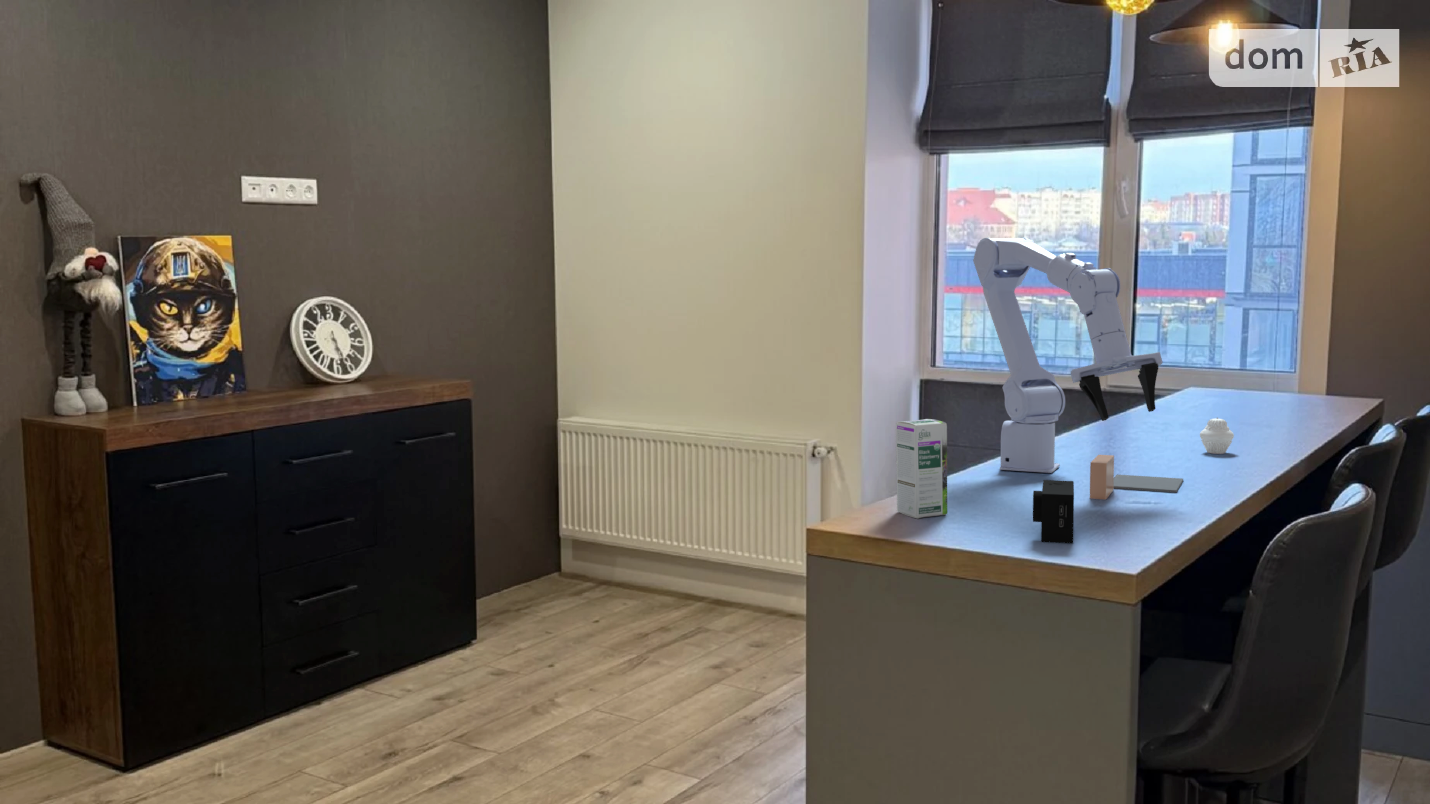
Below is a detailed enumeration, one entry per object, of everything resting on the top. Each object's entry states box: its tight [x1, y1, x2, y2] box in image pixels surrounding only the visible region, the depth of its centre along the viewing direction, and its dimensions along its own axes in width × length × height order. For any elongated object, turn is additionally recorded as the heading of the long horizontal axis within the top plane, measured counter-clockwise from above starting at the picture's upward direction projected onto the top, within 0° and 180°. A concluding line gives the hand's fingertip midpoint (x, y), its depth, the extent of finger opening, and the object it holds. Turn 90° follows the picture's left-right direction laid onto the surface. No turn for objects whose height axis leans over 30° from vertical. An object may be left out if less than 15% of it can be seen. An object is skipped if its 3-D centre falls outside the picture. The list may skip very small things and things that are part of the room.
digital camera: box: [1032, 479, 1075, 544], centre depth 169 cm, size 10×5×7 cm, turn 164°
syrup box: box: [895, 418, 948, 519], centre depth 183 cm, size 6×6×14 cm
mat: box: [1113, 473, 1184, 494], centre depth 203 cm, size 11×11×1 cm
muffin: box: [1199, 417, 1235, 455], centre depth 232 cm, size 6×6×7 cm
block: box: [1089, 454, 1115, 500], centre depth 195 cm, size 3×8×6 cm, turn 153°
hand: (1128, 414), depth 196 cm, fingers open, 7 cm apart
